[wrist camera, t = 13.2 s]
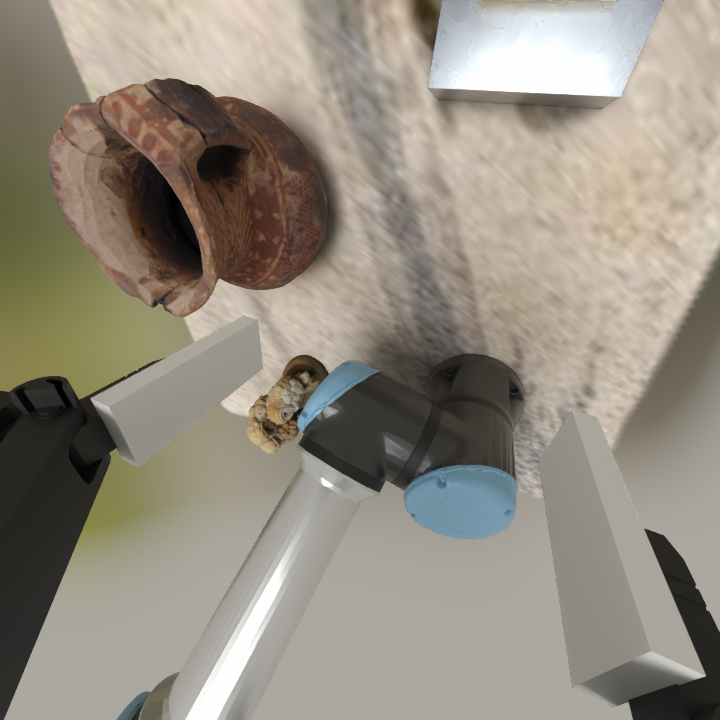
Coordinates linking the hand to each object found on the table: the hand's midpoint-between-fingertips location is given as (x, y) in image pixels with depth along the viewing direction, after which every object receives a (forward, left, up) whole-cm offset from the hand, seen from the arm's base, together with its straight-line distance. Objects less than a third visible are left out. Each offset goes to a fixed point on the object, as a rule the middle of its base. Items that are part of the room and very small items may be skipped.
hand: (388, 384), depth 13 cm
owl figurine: (-35, +24, -34) cm, 55 cm away
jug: (+1, +28, -34) cm, 44 cm away
